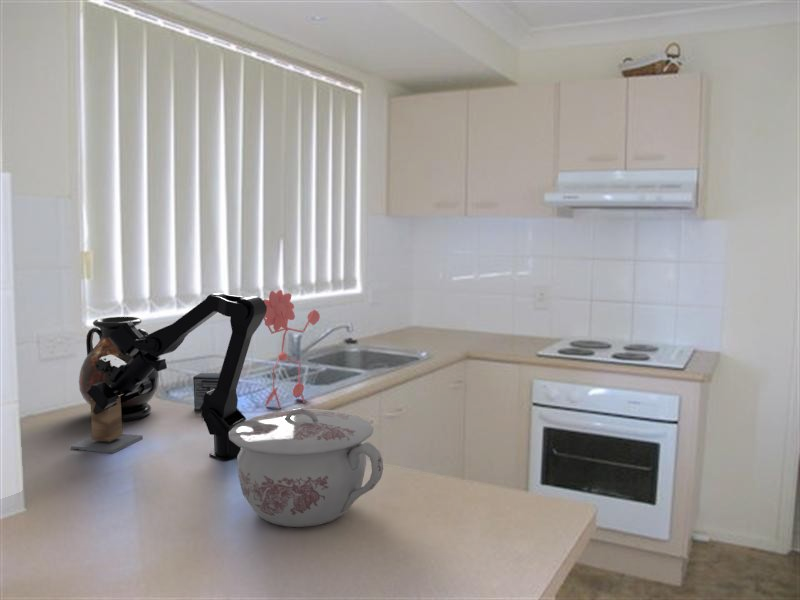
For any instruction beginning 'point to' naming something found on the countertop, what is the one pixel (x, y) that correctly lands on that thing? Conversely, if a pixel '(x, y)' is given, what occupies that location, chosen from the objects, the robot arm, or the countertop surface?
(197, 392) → the small box
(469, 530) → the countertop surface
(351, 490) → the chamber pot
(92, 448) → the plate
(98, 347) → the amphora vase
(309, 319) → the figurine
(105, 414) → the walnut block
